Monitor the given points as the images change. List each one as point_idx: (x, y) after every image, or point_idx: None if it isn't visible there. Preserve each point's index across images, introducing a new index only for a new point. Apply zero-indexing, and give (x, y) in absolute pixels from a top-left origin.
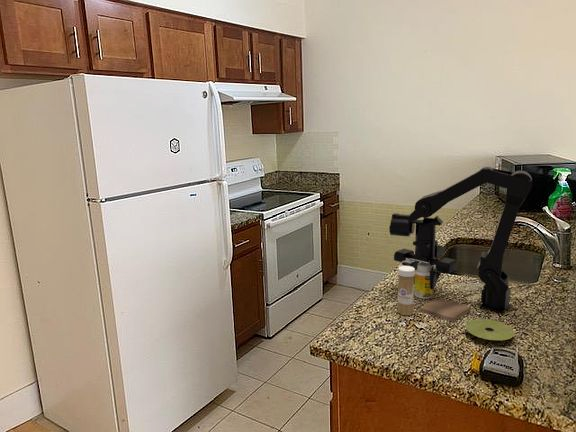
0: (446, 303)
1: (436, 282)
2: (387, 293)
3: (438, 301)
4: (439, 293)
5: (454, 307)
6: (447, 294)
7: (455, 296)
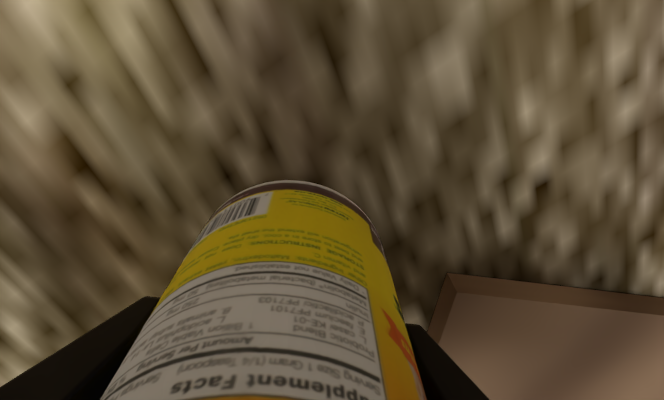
0: (549, 359)
1: (479, 395)
2: (15, 358)
3: (478, 360)
4: (408, 94)
5: (618, 390)
6: (499, 69)
7: (594, 76)
